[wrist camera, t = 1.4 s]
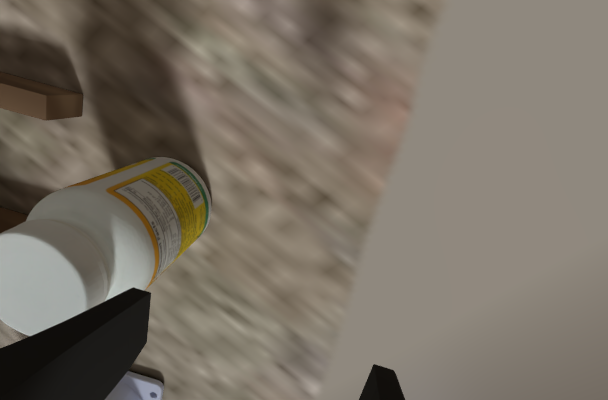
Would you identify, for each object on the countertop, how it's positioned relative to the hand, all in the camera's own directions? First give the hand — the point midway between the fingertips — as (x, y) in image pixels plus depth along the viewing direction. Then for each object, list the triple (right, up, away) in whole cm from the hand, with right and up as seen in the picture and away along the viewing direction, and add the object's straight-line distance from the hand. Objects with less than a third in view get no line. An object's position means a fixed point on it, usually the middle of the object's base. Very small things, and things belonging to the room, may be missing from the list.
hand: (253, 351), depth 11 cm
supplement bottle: (-6, +5, +10) cm, 13 cm away
